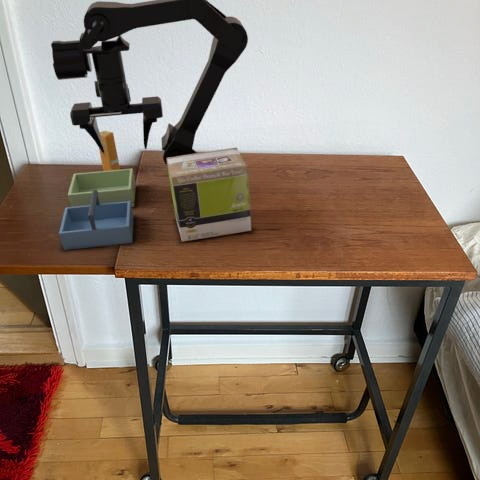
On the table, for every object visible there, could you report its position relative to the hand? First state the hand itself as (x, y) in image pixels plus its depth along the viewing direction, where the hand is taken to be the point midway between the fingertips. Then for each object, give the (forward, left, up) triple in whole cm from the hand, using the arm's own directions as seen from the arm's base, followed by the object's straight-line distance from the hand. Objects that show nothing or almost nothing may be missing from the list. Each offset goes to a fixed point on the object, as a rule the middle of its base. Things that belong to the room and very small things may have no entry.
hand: (124, 150), depth 118 cm
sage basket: (+7, -2, -12) cm, 14 cm away
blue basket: (+7, +14, -12) cm, 20 cm away
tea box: (-17, +16, -12) cm, 26 cm away
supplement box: (+6, -17, -12) cm, 22 cm away
